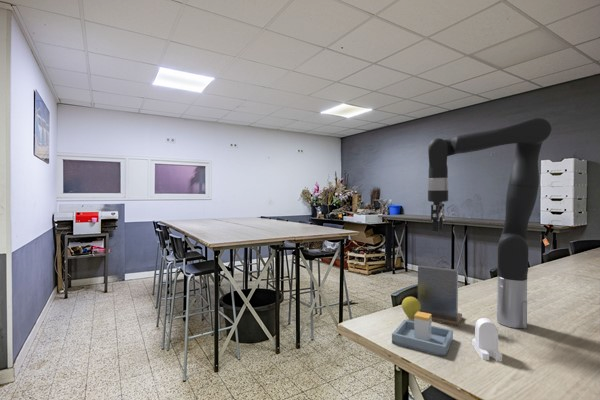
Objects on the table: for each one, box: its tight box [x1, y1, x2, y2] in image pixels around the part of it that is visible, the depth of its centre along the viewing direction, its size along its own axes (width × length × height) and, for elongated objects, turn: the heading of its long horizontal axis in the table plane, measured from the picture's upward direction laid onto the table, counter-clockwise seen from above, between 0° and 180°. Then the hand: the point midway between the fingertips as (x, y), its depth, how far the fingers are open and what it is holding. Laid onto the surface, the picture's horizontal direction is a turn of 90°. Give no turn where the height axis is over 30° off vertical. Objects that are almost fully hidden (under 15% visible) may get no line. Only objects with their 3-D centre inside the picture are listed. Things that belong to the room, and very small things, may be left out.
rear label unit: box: [417, 264, 463, 327], centre depth 126 cm, size 16×10×20 cm, turn 56°
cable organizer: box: [471, 317, 503, 362], centre depth 98 cm, size 5×10×10 cm, turn 169°
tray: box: [391, 319, 454, 358], centre depth 106 cm, size 16×14×3 cm
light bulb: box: [401, 296, 421, 322], centre depth 120 cm, size 7×7×10 cm
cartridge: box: [414, 311, 433, 342], centre depth 106 cm, size 4×4×8 cm
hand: (437, 230), depth 129 cm, fingers open, 8 cm apart
